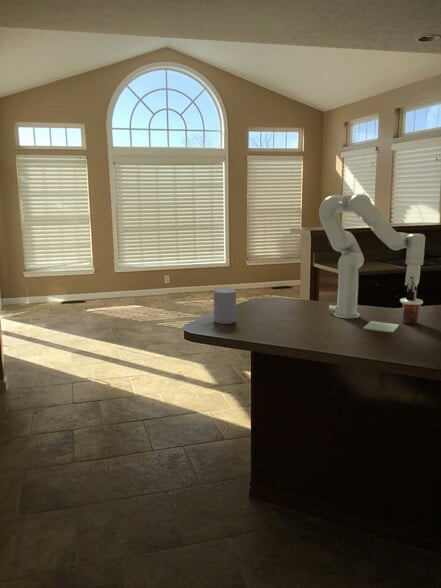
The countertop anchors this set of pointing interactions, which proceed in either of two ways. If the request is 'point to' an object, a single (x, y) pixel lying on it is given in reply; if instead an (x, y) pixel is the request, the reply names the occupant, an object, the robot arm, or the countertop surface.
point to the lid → (410, 302)
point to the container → (224, 306)
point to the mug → (410, 313)
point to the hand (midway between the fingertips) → (411, 298)
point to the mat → (381, 326)
